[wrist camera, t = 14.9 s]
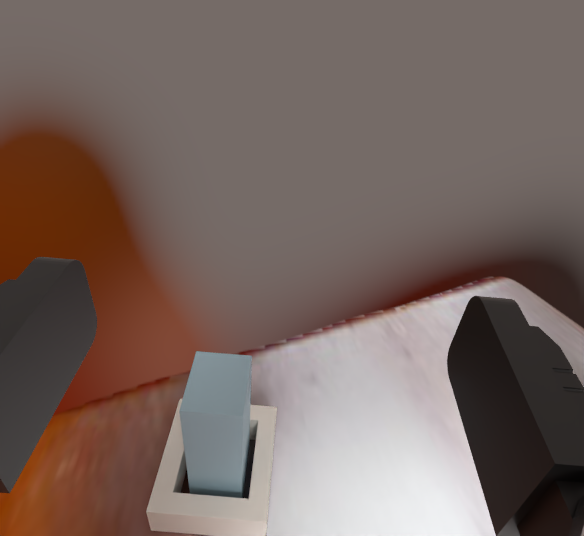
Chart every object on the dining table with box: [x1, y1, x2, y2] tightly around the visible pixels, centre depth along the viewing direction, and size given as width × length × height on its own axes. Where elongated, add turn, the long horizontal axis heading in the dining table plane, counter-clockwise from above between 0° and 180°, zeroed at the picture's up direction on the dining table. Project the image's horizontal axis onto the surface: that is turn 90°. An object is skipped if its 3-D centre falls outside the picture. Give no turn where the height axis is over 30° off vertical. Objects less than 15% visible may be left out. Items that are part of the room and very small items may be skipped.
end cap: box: [146, 399, 277, 536], centre depth 36 cm, size 9×10×3 cm
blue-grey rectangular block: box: [179, 351, 252, 498], centre depth 34 cm, size 4×5×12 cm
